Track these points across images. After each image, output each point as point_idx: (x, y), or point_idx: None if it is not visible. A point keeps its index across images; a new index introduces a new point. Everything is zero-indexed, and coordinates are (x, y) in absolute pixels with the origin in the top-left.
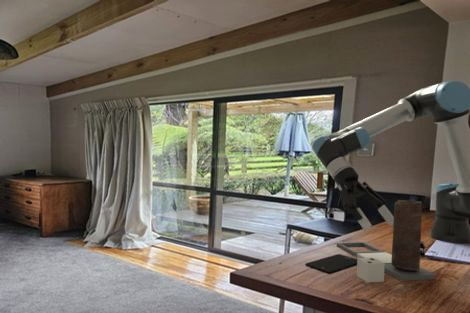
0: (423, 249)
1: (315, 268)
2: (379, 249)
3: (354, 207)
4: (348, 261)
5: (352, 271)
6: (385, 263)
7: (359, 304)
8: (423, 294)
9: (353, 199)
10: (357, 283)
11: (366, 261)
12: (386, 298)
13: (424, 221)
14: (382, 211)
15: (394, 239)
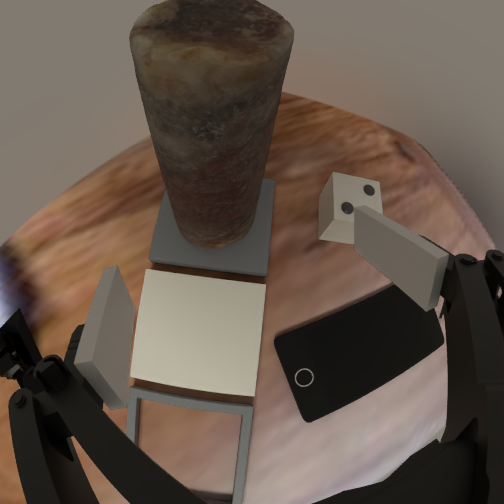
0: (12, 333)
1: (433, 310)
2: (128, 411)
3: (469, 255)
4: (328, 342)
5: (356, 275)
6: (228, 280)
7: (413, 147)
8: (282, 129)
9: (491, 308)
10: (383, 207)
11: (373, 198)
12: (364, 142)
13: None
14: (117, 362)
15: (263, 174)
